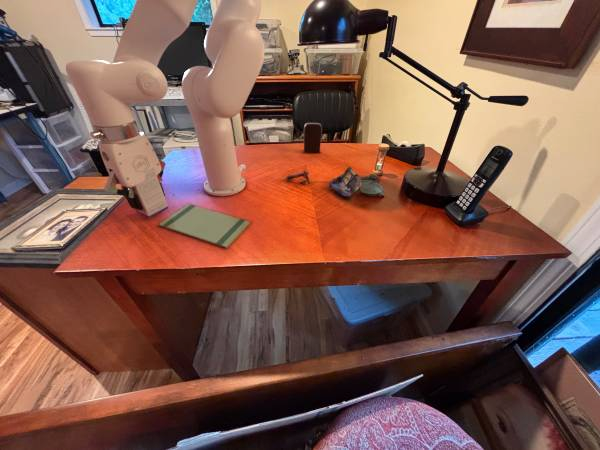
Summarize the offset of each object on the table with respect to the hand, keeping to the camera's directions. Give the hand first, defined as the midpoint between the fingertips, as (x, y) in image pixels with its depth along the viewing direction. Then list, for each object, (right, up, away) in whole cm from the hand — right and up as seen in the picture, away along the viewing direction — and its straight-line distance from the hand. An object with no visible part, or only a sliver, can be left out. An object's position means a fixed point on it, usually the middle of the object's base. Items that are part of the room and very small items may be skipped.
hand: (149, 201), depth 62 cm
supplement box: (0, -2, +2) cm, 3 cm away
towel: (+15, -6, -2) cm, 16 cm away
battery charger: (+44, +24, +37) cm, 62 cm away
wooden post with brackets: (+39, +8, +17) cm, 43 cm away
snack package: (+54, +5, +13) cm, 56 cm away
